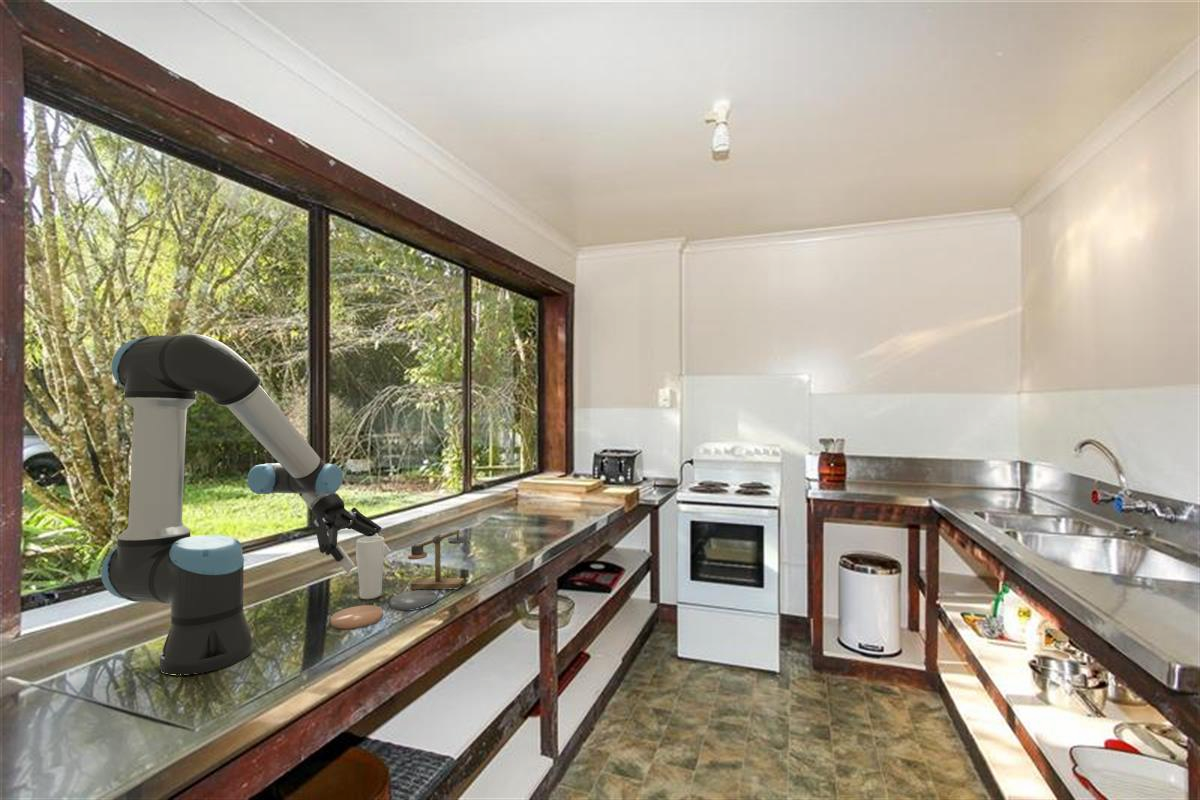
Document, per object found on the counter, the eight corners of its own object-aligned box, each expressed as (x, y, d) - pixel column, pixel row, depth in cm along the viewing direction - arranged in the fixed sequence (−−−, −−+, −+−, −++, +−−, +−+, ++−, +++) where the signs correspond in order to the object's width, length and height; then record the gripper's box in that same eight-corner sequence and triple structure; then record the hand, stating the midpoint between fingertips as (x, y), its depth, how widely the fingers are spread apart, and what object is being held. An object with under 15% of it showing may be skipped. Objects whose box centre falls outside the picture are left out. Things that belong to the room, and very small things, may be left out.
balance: (405, 589, 147) (404, 531, 148) (412, 583, 152) (411, 527, 153) (464, 589, 147) (463, 531, 147) (470, 583, 152) (469, 527, 152)
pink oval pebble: (320, 628, 122) (320, 623, 122) (346, 610, 133) (346, 605, 133) (368, 629, 121) (368, 623, 121) (390, 610, 132) (390, 605, 132)
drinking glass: (350, 598, 141) (350, 540, 141) (372, 590, 147) (372, 534, 147) (368, 602, 138) (368, 543, 138) (390, 594, 144) (389, 537, 144)
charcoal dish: (382, 610, 132) (382, 605, 132) (401, 594, 143) (401, 590, 143) (427, 610, 132) (426, 605, 132) (442, 594, 143) (442, 590, 143)
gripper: (349, 502, 161) (392, 557, 157) (276, 520, 137) (325, 585, 133) (364, 485, 160) (408, 540, 155) (293, 500, 136) (342, 565, 131)
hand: (370, 561), depth 144 cm, fingers open, 13 cm apart
